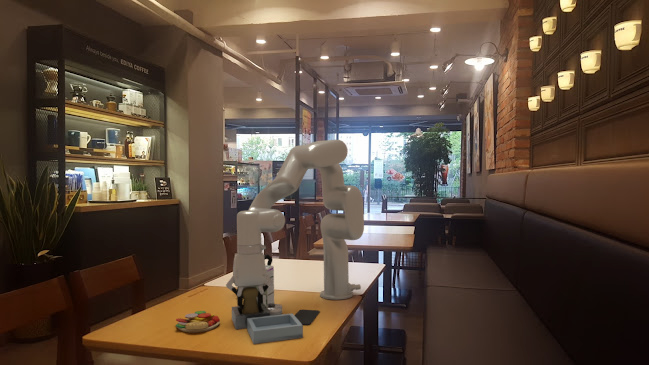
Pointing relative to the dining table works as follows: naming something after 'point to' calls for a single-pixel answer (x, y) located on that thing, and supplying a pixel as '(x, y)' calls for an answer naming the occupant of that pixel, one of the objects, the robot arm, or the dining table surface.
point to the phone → (306, 316)
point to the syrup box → (269, 293)
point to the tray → (274, 328)
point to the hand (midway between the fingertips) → (250, 306)
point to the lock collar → (254, 314)
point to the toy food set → (198, 322)
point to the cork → (250, 300)
